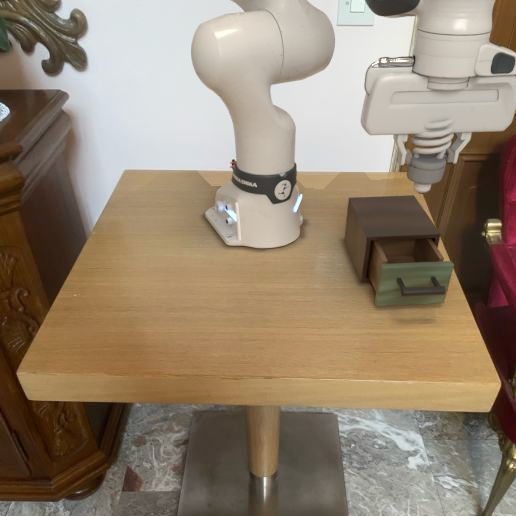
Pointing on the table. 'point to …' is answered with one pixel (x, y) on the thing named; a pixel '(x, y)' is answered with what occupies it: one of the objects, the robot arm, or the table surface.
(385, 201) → the cabinet
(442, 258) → the drawer
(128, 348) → the table surface
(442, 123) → the light bulb
